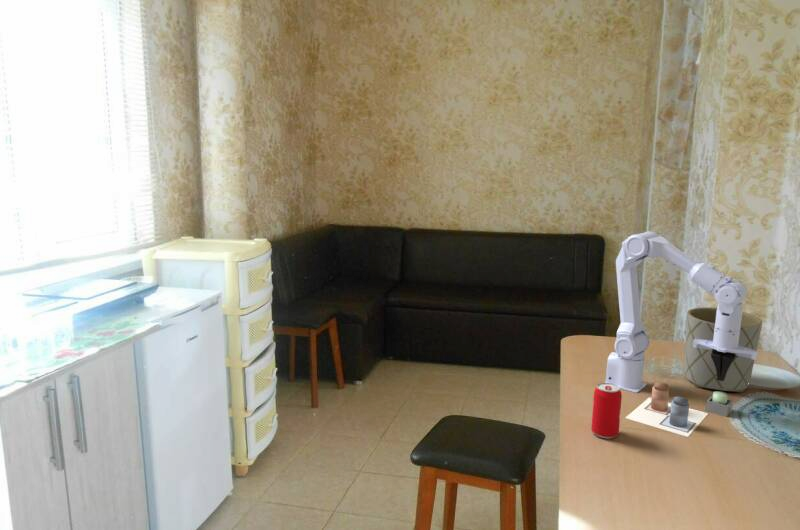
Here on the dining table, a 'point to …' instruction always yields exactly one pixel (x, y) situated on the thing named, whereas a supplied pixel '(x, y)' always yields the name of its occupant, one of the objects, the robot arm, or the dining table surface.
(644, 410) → the picture sheet
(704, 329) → the planter
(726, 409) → the button housing
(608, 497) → the dining table surface
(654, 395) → the brown jar
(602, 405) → the beverage can
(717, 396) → the button
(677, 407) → the blue gray jar
